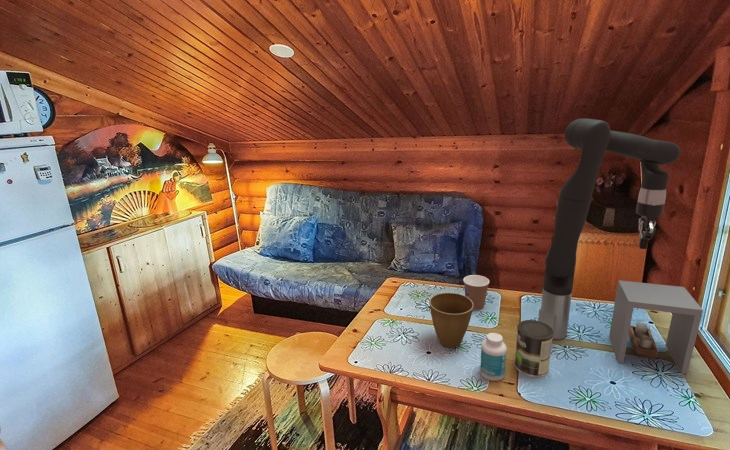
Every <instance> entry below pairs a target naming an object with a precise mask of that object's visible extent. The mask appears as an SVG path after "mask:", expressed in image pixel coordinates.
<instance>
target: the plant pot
mask: <svg viewBox="0 0 730 450" xmlns="http://www.w3.org/2000/svg"><path fill="white" fill-rule="evenodd" d="M429 310H430V316H431V320H432V324H433V329H434V331H435V335H436V337H437V339H438V343H439V344H440V345H441V346H443V347H445V348H448V349H454V348H457V347H460V345H461V343H462V341H463V339H464V336H465V335H466V332H467V330H468V327H469V324H470V323H471V322H470V321H471V319H472V318H471V317H472V313H473V311H474V310H473V302H472V301H471V299H469V298H468V297H466V296H465V294H460V293H455V292H441V293H436V294H435V295H433V296H431V297H430V299H429Z"/></svg>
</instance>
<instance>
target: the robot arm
mask: <svg viewBox="0 0 730 450" xmlns="http://www.w3.org/2000/svg"><path fill="white" fill-rule="evenodd" d="M564 140H565V142H566V144H567V145H568V146H570V147H571V148H574V149H578V150H581V152H580V153H581V154H580V157H579V160H578V164H577V167H576V169H575V170H574V172H573V173H572V174H571V175H570V176H569V177H568V179H567V180H566V181H565V182H564V184H563V185H562V187H561V188H560V190H559V195H558V200H557V204H556V209H555V218H554V228H553V229H554V230H553V231H554V232H553V238H552V242H551V244H550V247H549V249H548V251H547V253H546V256H545V260H544V264H545V271H544V278H543V284H542V295H541V305H540V309H538V319H537V321H540V322H543V323H545V324H547V325H549V326H550V327H551V328H552V329H553V331H554V334H553V338H552V341H553V340H562V339H565V338H566V337H567V334H568V326H569V320H570V311H571V302H572V297H573V296H572V295H573V289H574V280H575V271H576V267H577V266H576V263H577V252H578V251H577V250H578V244H579V240H580V236H581V234H582V232H583V229H584V227H585V223H586V220H587V217H588V213H589V212H590V211H589V210H590V207H591V202H592V199H593V193H594V188H595V185H596V182H597V177H598V174H599V170H600V168H601V165H602V162H603V159H604V156H605V153H606V152H609V153H614V154H617V155H621V156H624V157H628V158H632V159H637V160H640V164H641V166H640V167H641V171H642V178H641V179H642V180H641V184H640V185H641V186H640V190H639V192H638V197H637V203H636V209H635V213H636V214H637V215H639V216H640V218H638V219H637V225H638V226H637V228H638V231H637V232H638V235H639V243H638V248H639V249H640V250H641V249H642V250H647V248H648V244H649V240H652V239H653V238H654V235H655V234H656V232H657V228H656V224H657V221H656V219H655V218H657V217H658V218H659V217H661V216H663V214H664V209H665V205H666V204H665V202H666V199H667V188H668V184H669V179H670V178H669V177H670V174H669V173H668V172H667V171H665V170H663V169H661V167H660V165H670V164H674V163H675V162H676V161H677V160H679V158H680V156H681V148H680V147H679V146H678V145H677V143H675V142H670V141H665V140H659V139H653V138H649V137H646V136H644V135H643V136H642V135H638V134H634V133H627V132H623V131H618V130H617V131H616V130H611V127H610V125H609V122H607V121H604V120H602V119H595V118H594V119H593V118H577V119H575V120H573V121H571V122H570V123H569V124H568V125H567V127H566V128H565V131H564ZM659 164H660V165H659Z"/></svg>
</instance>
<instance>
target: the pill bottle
mask: <svg viewBox="0 0 730 450" xmlns="http://www.w3.org/2000/svg"><path fill="white" fill-rule="evenodd" d="M503 339H504V338H503V336H502V335H501V334H500V333H497V332H490V333H489V332H488V333H487V334H486V339H484V340H483V341H482V343H481V349H480V365H479V366H480V369H479V371H480V374H481V376H482V377H483V378H485V379H486V380H488V381H493V382H497V381H501V380H504V378H505V376H506V364H507V354H508V353H507V352H508V351H507V350H508V348H507V345H506V344H505V343H506V342H504V340H503Z"/></svg>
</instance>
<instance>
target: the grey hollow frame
mask: <svg viewBox="0 0 730 450" xmlns="http://www.w3.org/2000/svg"><path fill="white" fill-rule="evenodd" d="M613 304H614V305H613V311H612V312H613V313H612V317H611V322H610V323H611V324H610V328H609V329H610V330H609V335H608V337H609V341H610V345H611V346H612V349H614V350H613V352H615V353H614V355H615V359H616V361H617V363H618V362H619V364H624V362H625V355H626V351H627V346H628V341H629V330H630V325H631V326H632V324H631V323H632V318H633V313H634V309H640V310H648V311H657V312H665V313H671V317H670V318H671V319H670V324H669V329H668V332H667V336H666V342H665V347H666V349H667V351H668V352H669V354H670V356H671V357H672V360H673V361H674V362H675V365H676V367H677V368H678V371H679V372H680V374H683V375H688V373H689V369H690V365H691V360H692V357H693V352H694V349H695V344H696V340H697V335H698V332H699V328H700V324H701V321H702V316H703V312H704V311H703V310H704V309H703V308H702V307H701V306H700V305H699V303H698V302H697V300H696V299H695V298H694V297H693V296H692V295H691V294H690V292H689V291H688V290H687V289H686V288H685V287H684V286H679V285H677V286H676V285H668V284H657V283H648V282H647V283H646V282H638V281H628V280H621V279H619V280H617V286H616V293H615V299H614V303H613Z"/></svg>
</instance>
